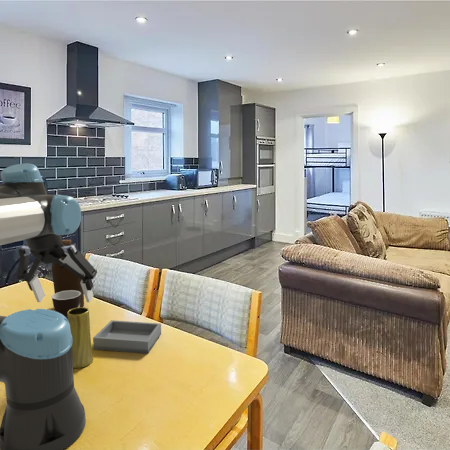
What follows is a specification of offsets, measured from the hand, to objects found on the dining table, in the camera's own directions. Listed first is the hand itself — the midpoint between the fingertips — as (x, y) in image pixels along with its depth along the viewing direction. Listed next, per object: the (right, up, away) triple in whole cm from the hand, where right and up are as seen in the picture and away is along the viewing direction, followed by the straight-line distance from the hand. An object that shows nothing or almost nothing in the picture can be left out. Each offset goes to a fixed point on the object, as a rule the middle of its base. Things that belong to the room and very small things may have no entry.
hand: (65, 299), depth 97 cm
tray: (+14, -15, +12) cm, 23 cm away
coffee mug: (-9, -13, +25) cm, 29 cm away
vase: (+4, -17, 0) cm, 17 cm away
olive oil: (-14, -11, +37) cm, 41 cm away
